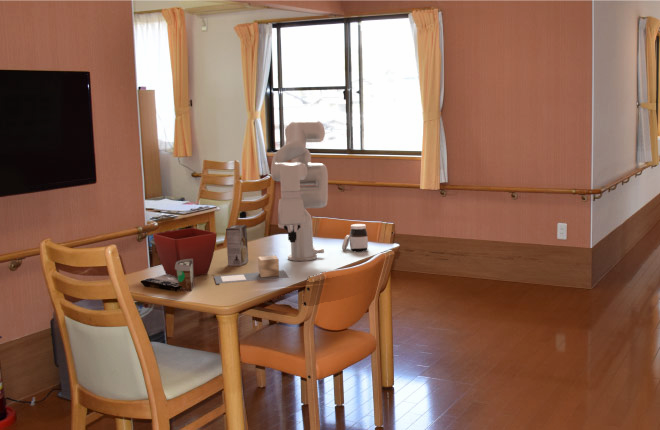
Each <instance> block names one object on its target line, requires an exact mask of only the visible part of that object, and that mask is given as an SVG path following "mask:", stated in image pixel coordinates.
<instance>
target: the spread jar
mask: <svg viewBox="0 0 660 430" xmlns="http://www.w3.org/2000/svg"><path fill="white" fill-rule="evenodd" d="M366 228H367V225H366V224H364V223H354V224H350V231H349V234H346V236H344V239H343V241H342V246H341V249H342V250H344V251H345V250H347V249H348V248H347V247H348V246H349V247H350V250H351V252H354V251H356V252H355V253H362V251H363V252H366V251H367V250H368V249H369V248H368V247H369V246H368V245H369V244H368V242H369V240H368V231H367V229H366Z"/></svg>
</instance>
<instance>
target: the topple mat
mask: <svg viewBox="0 0 660 430" xmlns="http://www.w3.org/2000/svg"><path fill="white" fill-rule="evenodd" d="M213 278H214V281H215V284H216V285H217V286H220V284H229V283H240V282H252V281H253V282H254V281H264V280H276V279H277V280H279V279H289V278H290V276H289V275H288V273H287V272H286V271H285V270H282V269H281V270H279V277H267V278H261V277H260V275H259V271H257V272H245V273H237V274H234V273H233V274H223V275H222V274H221V275H213Z"/></svg>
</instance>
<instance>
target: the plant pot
mask: <svg viewBox="0 0 660 430" xmlns="http://www.w3.org/2000/svg"><path fill="white" fill-rule="evenodd" d="M152 236H153V241H154V245H155V249H156V253H157V254H158V258H159V261H160V264H161V266H162V268H163V270H164V272H165V274H166V275H168V276H172V277H174V278H177V279H178V276H177V270H176V269H175V264H176V262H177V261H180V260H185V259H193V275H194V277H196V276H202V275H207V274H208V273H209V272H210V267H211V264H212V262H213V257H214V253H215V248H216V243H217V242H216V241H217V232H214V231H210V230H205V229H200V228H195V227H191V228H184V229H175V230H170V231H162V232H155V233H153V234H152Z"/></svg>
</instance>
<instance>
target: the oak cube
mask: <svg viewBox="0 0 660 430" xmlns="http://www.w3.org/2000/svg"><path fill="white" fill-rule="evenodd" d="M257 259H258V260H257V263H258V272H259V275H260V277H261V278H267V277H279V271H280V265H279V264H280V262H279V258H278V256H277V255H266V256H265V255H263V256H258V257H257Z"/></svg>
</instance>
